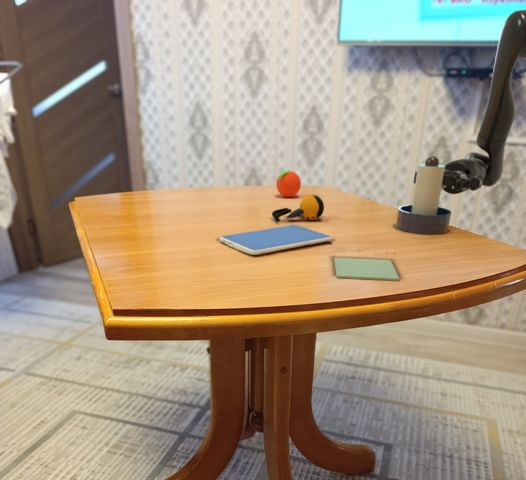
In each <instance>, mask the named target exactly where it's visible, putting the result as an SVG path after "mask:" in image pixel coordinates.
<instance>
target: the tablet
mask: <svg viewBox="0 0 526 480" xmlns="http://www.w3.org/2000/svg"><path fill="white" fill-rule="evenodd" d="M219 241H220V242H221V243H223V244H225V245H226V246H228V247H230V248H233V249H234V250H237V251H240V252H242V253H245V254H248V255H251V256H258V255H263V254H267V253H273V252H279V251H283V250H284V251H285V250H291V249H295V248H300V247H304V246H305V247H306V246H310V245H315V244H320V243H326V242H331V241H333V237H332V236H331V235H328V234H325V233H323V232H319V231H316V230H313V229H310V228H307V227H304V226H301V225H297V224H290V225H284V226H283V225H282V226H278V227H271V228H265V229H258V230H252V231H246V232H239V233H234V234H227V235H222V236H219Z"/></svg>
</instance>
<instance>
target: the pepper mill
mask: <svg viewBox="0 0 526 480" xmlns="http://www.w3.org/2000/svg"><path fill="white" fill-rule="evenodd" d="M416 170H417V171H416V172H417V176H416V183H414V191H413V196H412V203H411V205H412V209H411V213H414V214H422V215H437V211H438V207H439V204H440V199H441V193H442V182H443V176H444V171H445V165H443V164H440V160H439V158H438V157H436V156H435V155H431V156H429V157H427V158H426V160H425V161H424V163H419V164H418V165H417V169H416Z"/></svg>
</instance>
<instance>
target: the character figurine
mask: <svg viewBox="0 0 526 480" xmlns="http://www.w3.org/2000/svg"><path fill="white" fill-rule="evenodd" d="M324 211H325V204H324V201H323V199H322V198H321V197H320V196H319V195H315V194H309V195H307V196H305V197H303V198H302V200H301V201H300V204H299V208H297V209H295V210H294V211H293V212H292V209H291V208H288V207H283V208H278V209H276V210H273V211H272V213H271V216H272V217H273V219H274V221H276V222H279V221H280V218H281V217H283V216H285V215H287V216H286V218H287V219H295V218H297V217H299V216H302V217H303V218H304V219H306V220H308V221H315V220H318V219H319V218H321V217H322V216H323V214H324Z"/></svg>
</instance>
